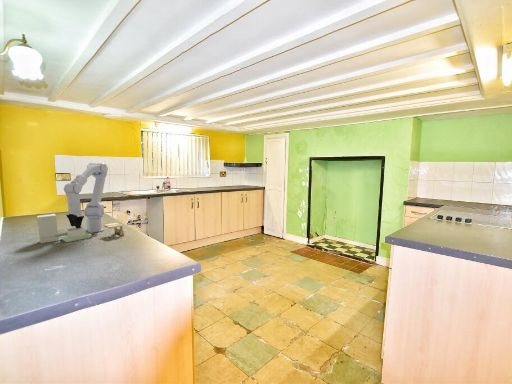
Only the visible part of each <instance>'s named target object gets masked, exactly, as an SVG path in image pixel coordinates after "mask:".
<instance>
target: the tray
mask: <svg viewBox="0 0 512 384" xmlns="http://www.w3.org/2000/svg"><path fill="white" fill-rule="evenodd" d="M90 238H93V237H92V233H90V232H88V231H85V235H83V236H78V237H73V238H66V235H65V236H60V239H61V240H62V241H64V242H66V243H73V242H77V241H81V240H86V239H90Z"/></svg>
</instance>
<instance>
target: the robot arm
mask: <svg viewBox="0 0 512 384" xmlns="http://www.w3.org/2000/svg"><path fill="white" fill-rule="evenodd" d="M108 170H109V167H108V166H107V163H105V162H89V163H88V164H87V165H86V169H85V171H84V172H82V173H81V174H79V175H76V176H75V178H73V180H71V181H70V182H68V183H66V184H65V185H64V188H63V191H64V193H65V196H66V197H67V208H68V209H67V210H68V211H67V212H65V214H66V217H67V219H68V222H69V225H70V226H71V227H72V228H74V227H75V228H76V229H78V228H81V227H82V223H83V219H84V218H85V217H86V229H85V232H88V233H90V234H93V233H97V232H103V231H105V229H103V227H102V217H103V216H104V214H105V206H104V204H102V203H101V201H102V197H103V191H104V186H105V184H106V183H105V182H106V177H107V175H108ZM91 176H92V177H93V178H95V181H94V184H93V191H92V195H91V196H92V197H91V200H90V202H89V203H87V204H86V205H85V208H84V211H83V214H84V215H82V210H81V199H80V193H81V192H82V188H83V186H84V185H85V184H86V183H87V181H88V179H89V177H91Z"/></svg>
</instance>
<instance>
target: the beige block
mask: <svg viewBox="0 0 512 384" xmlns="http://www.w3.org/2000/svg"><path fill="white" fill-rule="evenodd" d="M103 227H104V228H107V229H110V230H111V229H114V234H116V235H117V234H118V235H120V236H121V237H122V236H125V229H123V224H121V223H118V222H111V223H107V224H103Z"/></svg>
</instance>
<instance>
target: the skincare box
mask: <svg viewBox="0 0 512 384" xmlns="http://www.w3.org/2000/svg"><path fill="white" fill-rule="evenodd" d="M36 220H37V221H36V222H37V228H38V236H39V242H40V244H46V242H47V243H53V242H57V241H59V240H60V239H59V237H55V234H59V233H58V223H57V215H56V213H51V214H50V213H49V214H41V215H37V216H36Z"/></svg>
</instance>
